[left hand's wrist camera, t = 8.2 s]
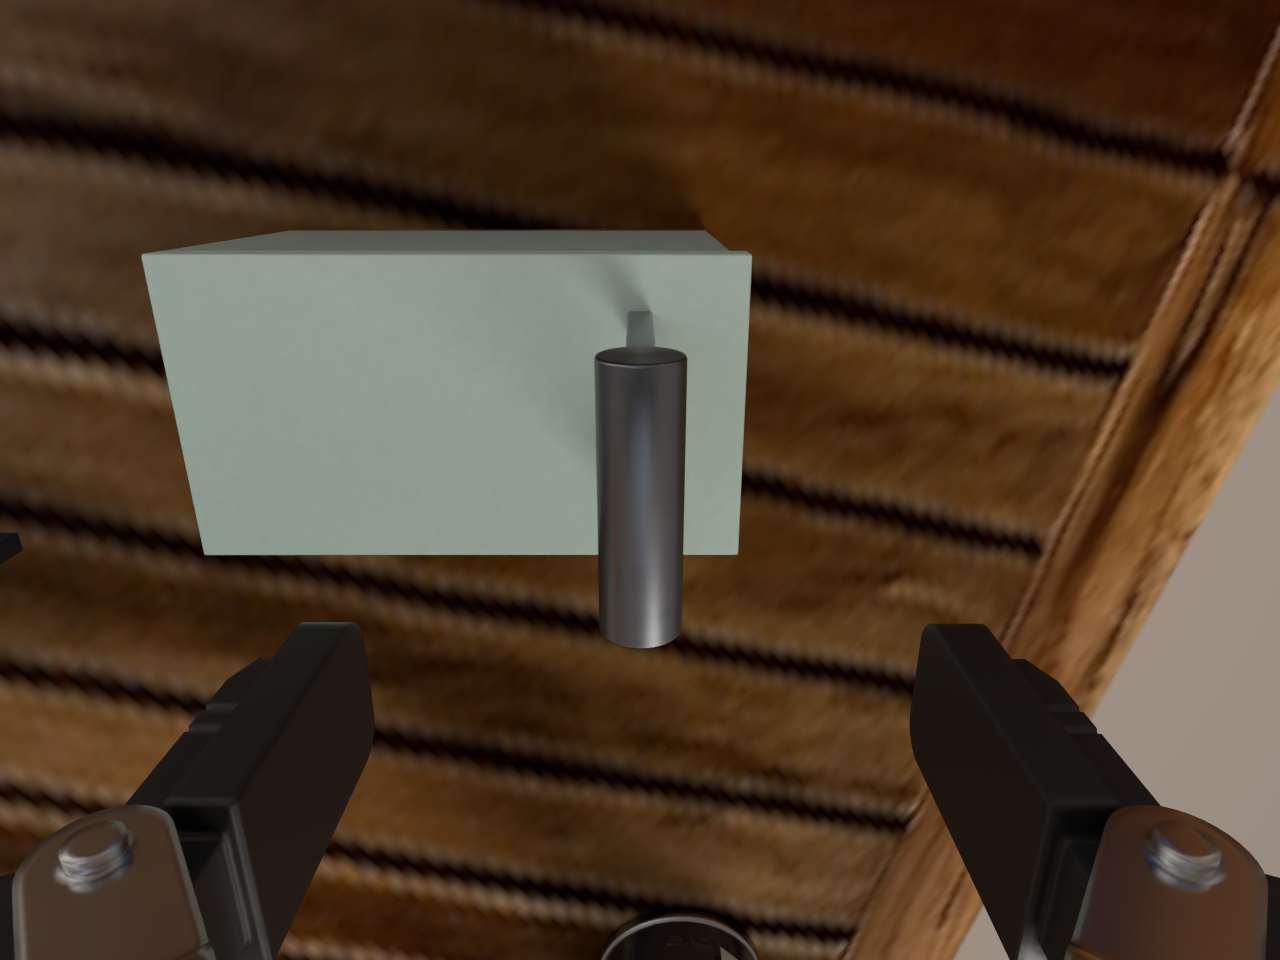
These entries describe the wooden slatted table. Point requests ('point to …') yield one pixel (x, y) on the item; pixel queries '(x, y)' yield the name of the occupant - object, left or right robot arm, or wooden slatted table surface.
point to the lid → (465, 407)
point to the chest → (472, 240)
